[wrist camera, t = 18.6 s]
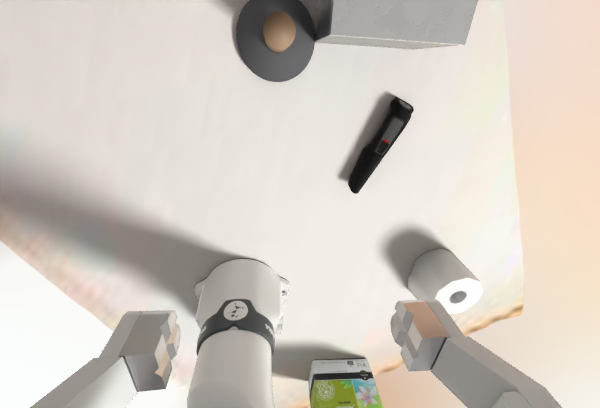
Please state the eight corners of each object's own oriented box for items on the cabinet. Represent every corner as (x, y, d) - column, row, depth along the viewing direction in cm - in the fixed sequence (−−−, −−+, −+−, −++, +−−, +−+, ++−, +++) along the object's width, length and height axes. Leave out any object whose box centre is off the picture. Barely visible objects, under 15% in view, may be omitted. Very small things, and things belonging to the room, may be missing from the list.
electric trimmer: (340, 181, 46) (344, 189, 43) (393, 94, 40) (402, 97, 37) (358, 189, 47) (363, 197, 44) (412, 106, 41) (422, 110, 38)
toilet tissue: (401, 295, 60) (420, 328, 53) (420, 247, 54) (444, 277, 46) (438, 295, 61) (462, 328, 54) (460, 248, 55) (491, 278, 48)
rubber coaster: (311, 83, 38) (311, 83, 37) (239, 79, 37) (238, 79, 36) (317, -5, 33) (317, -6, 33) (234, -13, 32) (234, -14, 31)
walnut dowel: (287, 54, 35) (294, 51, 26) (264, 52, 35) (262, 48, 25) (289, 27, 34) (296, 12, 24) (265, 24, 33) (263, 9, 24)
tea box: (367, 356, 70) (390, 423, 57) (360, 378, 74) (379, 445, 61) (310, 358, 68) (320, 429, 55) (306, 381, 72) (315, 451, 59)
